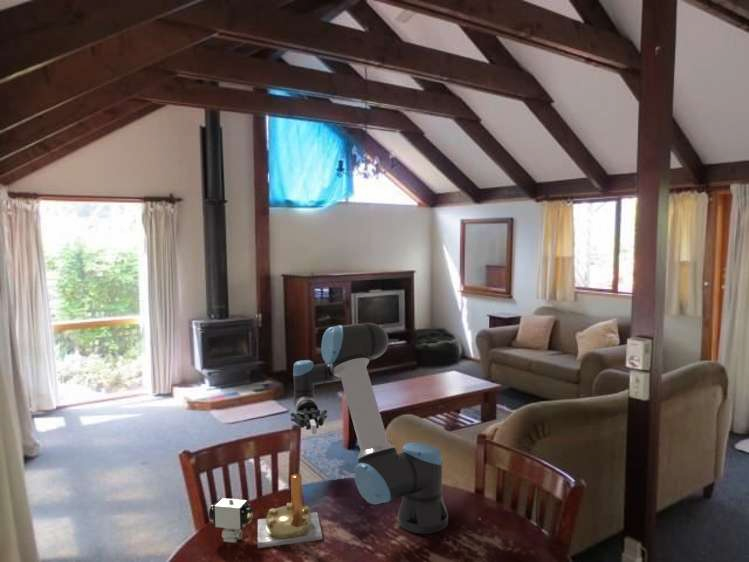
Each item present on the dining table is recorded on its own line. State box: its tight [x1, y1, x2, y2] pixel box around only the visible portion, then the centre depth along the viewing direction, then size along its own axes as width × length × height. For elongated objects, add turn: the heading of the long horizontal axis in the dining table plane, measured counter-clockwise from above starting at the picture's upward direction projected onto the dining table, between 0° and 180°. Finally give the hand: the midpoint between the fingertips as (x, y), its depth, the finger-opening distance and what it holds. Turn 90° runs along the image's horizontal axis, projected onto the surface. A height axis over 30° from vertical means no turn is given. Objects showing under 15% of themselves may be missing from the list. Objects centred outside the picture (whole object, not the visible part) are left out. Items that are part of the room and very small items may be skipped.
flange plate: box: [257, 511, 323, 549], centre depth 153 cm, size 18×13×2 cm
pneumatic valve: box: [208, 497, 255, 544], centre depth 149 cm, size 6×12×12 cm, turn 78°
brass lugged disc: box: [266, 473, 312, 538], centre depth 152 cm, size 14×13×17 cm
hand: (314, 429), depth 165 cm, fingers closed
